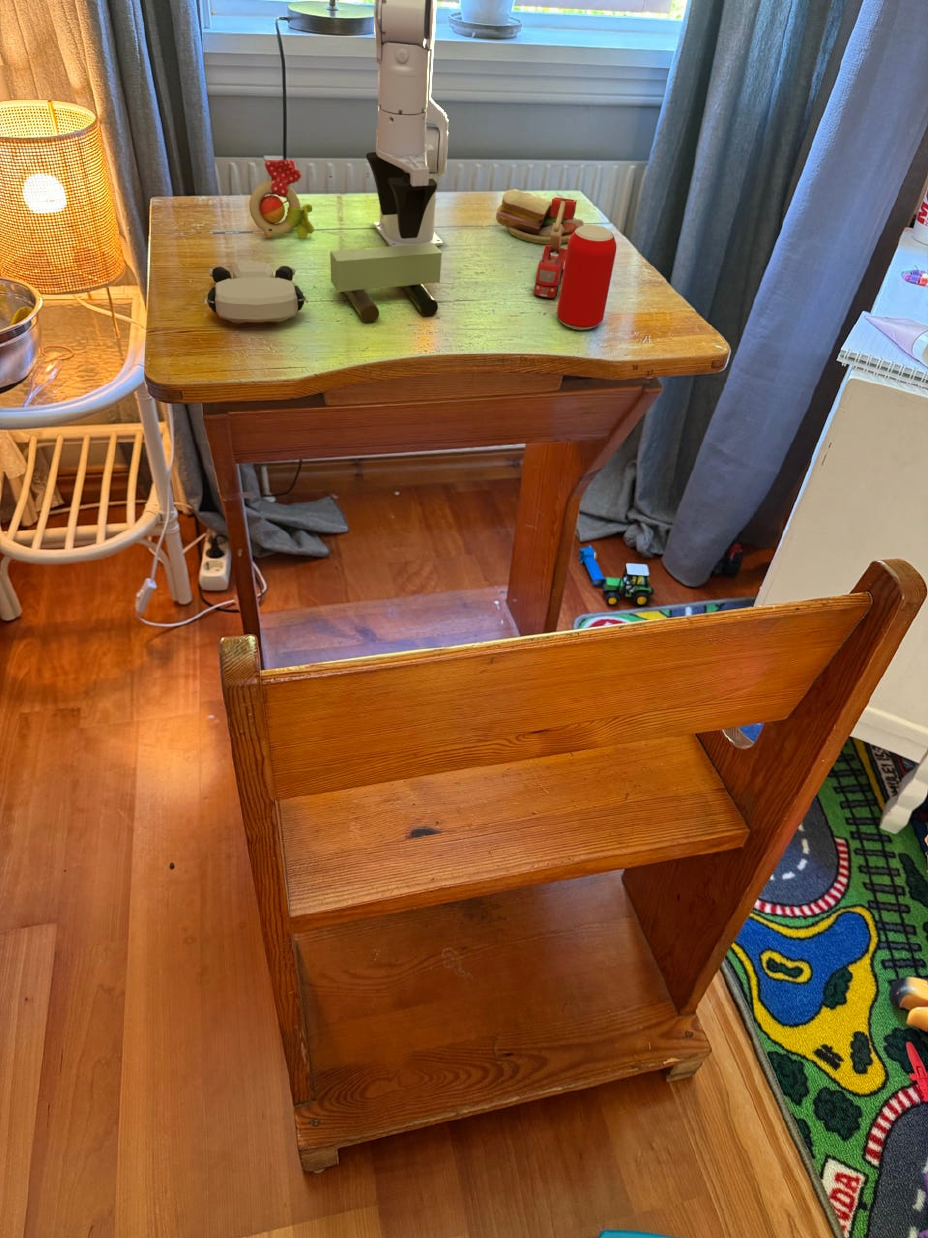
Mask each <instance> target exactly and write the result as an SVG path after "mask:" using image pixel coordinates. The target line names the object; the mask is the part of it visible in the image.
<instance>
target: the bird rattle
mask: <svg viewBox="0 0 928 1238" xmlns="http://www.w3.org/2000/svg"><path fill="white" fill-rule="evenodd" d="M264 167H265V170H266V172H267V174H268V175H269V176H270V179H269V180H266V181H263V182H262V183H260V184H259V185H257V186H256V187H255V189H254V190H253V191H252V193H251V196H250V199H249V213H250V215H251V218H252V219H253V222H254V224H255V225H256V226H257V227H258V229H260V230H261V231H262V232H263V234H264V237H265V238H266V239H271V238H272V237H273V236H278V235H283V234H287V232H292V231H293V230H295V229H296V232H297V236H298V238H300V239H303V240H304V239H306V238H307V237H308V235H309V234H310V235H312V234H313V233H314V232H315V228H314V226H313V224H312V223H311V221H310V220H309V213H312V212H313V206H312V205H311V204H309V203H306V204H304V205H303V206H301V203H300V199H299V197H298V196H297V195H298V194H297V192H295V190H294V188H292V187H291V186H290V185H291V184H295V183H298V182H299V181H300V179H301V178H302V173H301V171H300V170H299V169H296V165H295V162H294V160H287V159H286V158H283V159H280V160H267V161H265V163H264ZM280 197H281V198H285V199H286V200H285V201H283V200H282V199H281V198H280ZM286 203H288V206H287V208H285V204H286ZM286 209H287V211H286ZM285 214H286V216H285ZM283 219H284V220H283Z"/></svg>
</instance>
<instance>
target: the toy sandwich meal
mask: <svg viewBox="0 0 928 1238" xmlns="http://www.w3.org/2000/svg"><path fill="white" fill-rule="evenodd" d="M551 203H552V201H550V200H547V199H545V198H541V197H539V196H535V195H533V194H530V192H529V193H528V192H523V191H521V190H519V189H515V188H514V189H513V188H512V189H509V190H507V191H505V192H504V193H503V196H502V200H501V204H500V205H499V206H498V208H497V209H496V214H495V219H496V221H497V223H498V224H499V225H502V226H504V227H505V228H506V229H507V230H508V232H509V234H511V235H513V236H514V237H516V238H518V239H520V240H522V241H525V242H529V243H533V244H539V245H551V231H552V227H553V223H556V220H557V218H556V217H550V215H551ZM561 224H562V238H561V245H562V244H566V243H568V240H569V238H570V236H571V235H572V234H573V232H574V231H575V230H576V229H577V228H578V227H580V226H583V225H585V224H584V220H582V219H579V218H576V217H575V216H574V217H573V220H571V219H563V218H562V222H561Z"/></svg>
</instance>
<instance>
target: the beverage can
mask: <svg viewBox="0 0 928 1238" xmlns="http://www.w3.org/2000/svg"><path fill="white" fill-rule="evenodd" d="M617 248H618V247H617V241H616V238H615V236H614V233H613V231H611V230H610V229H608V228H607V227H605V226H601V225H596V224H584V225H583V226H580V227H578V228H577V229H576V230H575V231H574V232H573V234H572V235H571V236H570V238H569V240H568V242H567V245H566V249H567V251H566V257H565V262H564V268H563V269H564V270H563V277H562V280H561V283H560V291H559V297H558V303H557V309H556V315H557V319H558V321H559V322H560V323H562V324H563V325H564V326H566V327H567V328H570V329H572V330H577V331H587V330H591V329H593V328H596V327H598V326H599V325H600V324H601V323H602V322H603V320H604V317H605V311H606V305H607V300H608V297H609V290H610V285H611V280H612V275H613V269H614V264H615V259H616V254H617Z"/></svg>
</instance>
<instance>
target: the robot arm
mask: <svg viewBox="0 0 928 1238" xmlns="http://www.w3.org/2000/svg"><path fill="white" fill-rule="evenodd" d="M436 16H437V0H374V4H373V31H374V37H375V45H376V47H375V49H376V51H375V52H376V57H375V58H376V64H377V63H378V79H377V80H378V84H377V86H378V87H377V128H376V129H375V151H373V152H367V153H366V154H365V158H366V160H367V162H368V164H369V166H370V169H371V171H372V175H373V178H374V182H375V187H376V192H377V197H378V198H377V199H378V204H379V221H375V222H373V227H374V229H376V230H377V232H378V233H379V234H380V236H381V237H382V238H383V239H384V241H385V242H386V243H387V244H388V247H390V246H402V245H415V244H428V243H434V245H435V246H436V247H441V246H443V245H444V242H443V240H442V239H441V238H440V237H439V236H438V235H437V233H436V232H435V216H436V215H435V214H436V200H437V199H436V197H437V189H438V182H437V181H438V180H437V179H438V177H441V178H442V177H443V175H445V174H446V172H447V162H448V153H449V152H448V149H449V148H448V147H449V119H448V115H447V113H446V112H445V111H444V109H442V108H441V107H440V106H439V105H438V104H437V103H436V102H435V101H434V100H433V99H432V97H431V96H432V84H433V83H432V81H433V66H434V50H435V49H434V47H435V33H436ZM427 124H433V125H434V126H427Z"/></svg>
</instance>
